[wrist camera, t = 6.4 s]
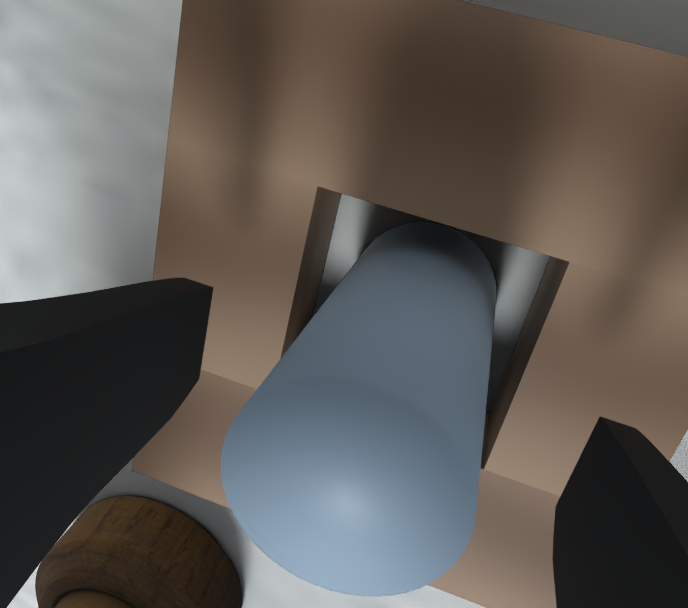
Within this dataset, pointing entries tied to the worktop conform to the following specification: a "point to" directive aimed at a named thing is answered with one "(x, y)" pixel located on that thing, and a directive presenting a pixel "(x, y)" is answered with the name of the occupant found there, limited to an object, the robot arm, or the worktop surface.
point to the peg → (373, 422)
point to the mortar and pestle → (136, 561)
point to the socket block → (443, 207)
